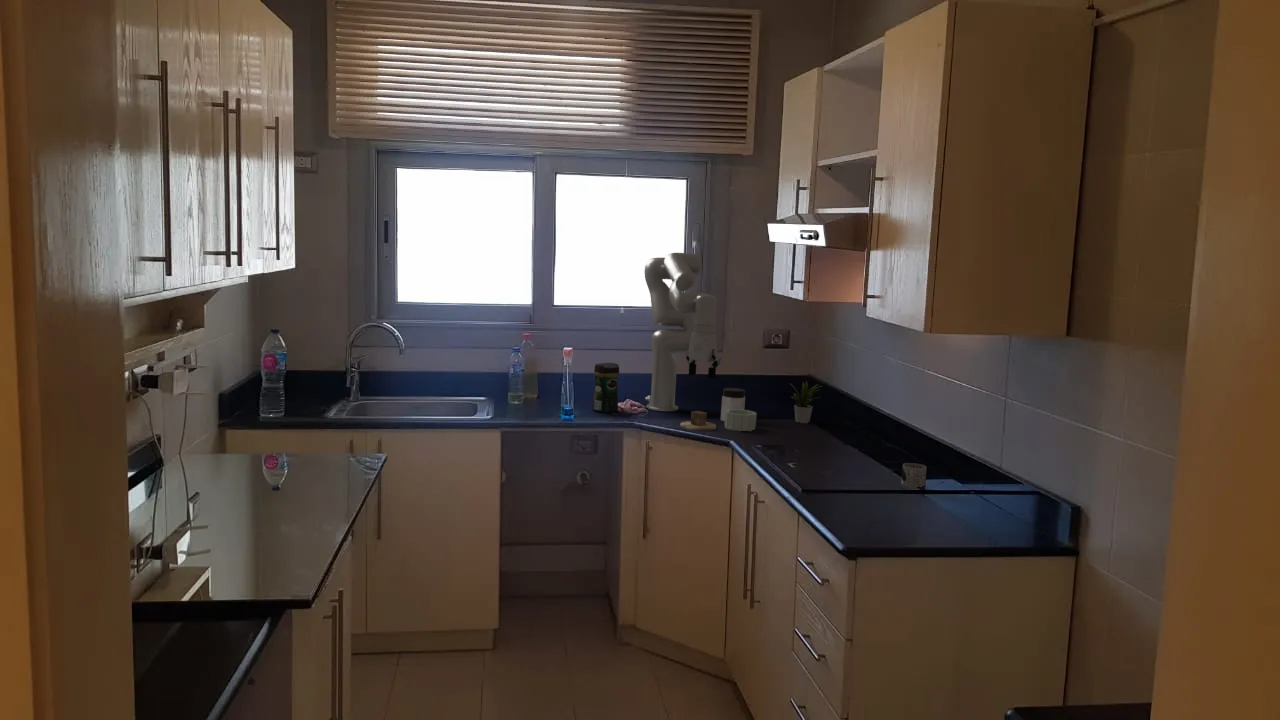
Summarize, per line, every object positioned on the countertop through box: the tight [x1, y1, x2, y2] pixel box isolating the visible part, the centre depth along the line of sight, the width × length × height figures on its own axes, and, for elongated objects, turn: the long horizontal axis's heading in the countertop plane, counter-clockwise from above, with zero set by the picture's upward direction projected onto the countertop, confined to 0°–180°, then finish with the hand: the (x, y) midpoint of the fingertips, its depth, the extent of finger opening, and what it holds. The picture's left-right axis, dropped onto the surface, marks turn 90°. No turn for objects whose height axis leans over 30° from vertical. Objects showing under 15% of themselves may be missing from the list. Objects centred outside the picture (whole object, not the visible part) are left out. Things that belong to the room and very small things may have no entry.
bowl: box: [724, 409, 757, 432], centre depth 358 cm, size 11×11×6 cm
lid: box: [679, 410, 717, 432], centre depth 356 cm, size 13×13×6 cm
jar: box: [720, 387, 746, 422], centre depth 371 cm, size 9×8×12 cm
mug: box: [900, 462, 928, 489], centre depth 282 cm, size 10×7×7 cm
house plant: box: [790, 380, 822, 424], centre depth 376 cm, size 14×14×16 cm
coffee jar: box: [592, 362, 620, 413], centre depth 377 cm, size 10×8×19 cm
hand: (701, 376), depth 354 cm, fingers open, 9 cm apart
